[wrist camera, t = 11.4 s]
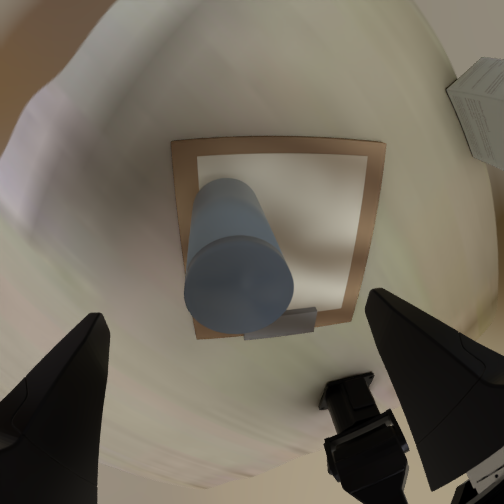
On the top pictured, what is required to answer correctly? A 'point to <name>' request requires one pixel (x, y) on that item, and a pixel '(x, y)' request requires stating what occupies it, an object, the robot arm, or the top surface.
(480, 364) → the robot arm
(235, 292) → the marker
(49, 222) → the top surface
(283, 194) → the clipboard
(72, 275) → the top surface
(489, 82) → the supplement box
